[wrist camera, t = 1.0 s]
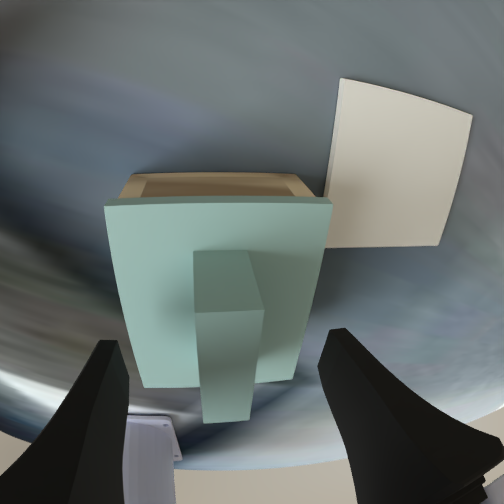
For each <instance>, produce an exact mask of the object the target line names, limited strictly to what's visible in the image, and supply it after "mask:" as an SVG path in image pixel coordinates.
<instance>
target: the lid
mask: <svg viewBox="0 0 504 504" xmlns="http://www.w3.org/2000/svg"><path fill="white" fill-rule="evenodd" d="M332 210H333V203H332V202H331V201H330V200H329V199H328V198H327V197H298V196H171V197H141V198H118V199H108V200H107V202H106V204H105V205H104V211H105V218H106V225H107V232H108V238H109V244H110V250H111V256H112V261H113V267H114V272H115V277H116V282H117V287H118V291H119V296H120V300H121V305H122V309H123V313H124V318H125V322H126V326H127V330H128V334H129V337H130V341H131V345H132V348H133V352H134V356H135V359H136V363H137V366H138V369H139V373H140V376H141V379H142V382H143V385H144V388H181V387H200V393H201V403H202V413H203V423H219V422H233V421H244V420H249V418H250V411H251V404H252V397H253V390H254V383H262V382H272V381H281V380H289V379H292V378H293V375H294V371H295V368H296V364H297V360H298V357H299V353H300V349H301V346H302V342H303V338H304V334H305V330H306V326H307V322H308V318H309V314H310V310H311V306H312V302H313V298H314V294H315V290H316V285H317V281H318V277H319V272H320V268H321V263H322V259H323V254H324V249H325V245H326V240H327V235H328V230H329V225H330V220H331V215H332Z"/></svg>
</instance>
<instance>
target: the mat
mask: <svg viewBox="0 0 504 504" xmlns="http://www.w3.org/2000/svg"><path fill="white" fill-rule="evenodd" d="M472 116H473V115H470V114H467V113H465V112H462V111H460V110H457V109H454V108H451V107H448V106H446V105H443V104H440V103H437V102H434V101H430V100H427V99H424V98H421V97H418V96H414V95H411V94H407V93H404V92H400V91H396V90H393V89H389V88H385V87H381V86H376V85H372V84H368V83H363V82H359V81H354V80H349V79H343V78H340V83H339V91H338V100H337V108H336V115H335V123H334V130H333V137H332V144H331V151H330V158H329V164H328V171H327V177H326V183H325V189H324V195H323V197H327V198H328V199H329V200H330V201H331V202H332V203H333V210H332V215H331V220H330V225H329V230H328V235H327V240H326V245H325V248H348V247H395V246H438V244H439V241H440V238H441V235H442V233H443V230H444V227H445V224H446V221H447V217H448V214H449V211H450V208H451V205H452V201H453V198H454V194H455V191H456V187H457V184H458V180H459V176H460V172H461V168H462V164H463V160H464V156H465V151H466V147H467V142H468V137H469V132H470V127H471V122H472Z"/></svg>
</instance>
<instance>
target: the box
mask: <svg viewBox="0 0 504 504" xmlns="http://www.w3.org/2000/svg"><path fill="white" fill-rule="evenodd" d="M171 196H298V197H316V196H315V195H314V194H313V193H312V192H311V191H310V190H309V189H308V187H307V186H306V185H305V184H304V183H303V182H302V181H301V180H300V179H299V178H298V176H297V175H296V174H283V173H247V172H188V173H151V174H132V175H131V176H130V178H129V180H128V181H127V183H126V185H125V187H124V188H123V190H122V192H121V194H120V196H119V197H118V198H141V197H171Z"/></svg>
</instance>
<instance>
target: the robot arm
mask: <svg viewBox="0 0 504 504" xmlns="http://www.w3.org/2000/svg"><path fill="white" fill-rule="evenodd" d="M318 371H319V375H320V379H321V383H322V387H323V391H324V393H325V396H326V398H327V401H328V404H329V406H330V409H331V411H332V414H333V416H334V419H335V421H336V424H337V426H338V429H339V431H340V434H341V436H342V439H343V442H344V445H345V448H346V451H347V455H348V459H349V463H350V467H351V472H352V476H353V481H354V486H355V491H356V497H357V503H358V504H504V474H503V475H502V476H500V477H499V478H497V479H496V480H494V481H493V482H492V483H490V484H489V485H487V486H486V487H484V488H483V486H482V484H483V483H484V482H485V481H486V480H485V478H484V476H483V475H484V474H485V473H487V472H488V471H490V470H491V469H492V468H494V467H495V466H496V465H498V464H499V463H500V462H502V461H503V460H504V446H503V444H502V443H501V441H500V439H499V438H498V437H495V436H493V435H489V434H487V433H484V432H482V431H479V430H477V429H474V428H472V427H470V426H468V425H466V424H464V423H462V422H460V421H458V420H456V419H454V418H452V417H450V416H449V415H447V414H445V413H444V412H442V411H440V410H439V409H437V408H436V407H434V406H433V405H431V404H430V403H428V402H427V401H425V400H424V399H423V398H421V397H420V396H418V395H417V394H416V393H414V392H413V391H412V390H411V389H409V388H408V387H407V386H406V385H405V384H403V383H402V382H401V381H400V380H399V379H398V378H396V377H395V376H394V375H393V374H392V373H391V372H390V371H389V370H388V369H387V368H385V367H384V366H383V365H382V364H381V363H380V362H379V361H378V360H377V359H376V358H375V357H374V356H373V355H372V354H371V353H370V352H369V351H368V350H367V349H366V348H365V347H364V346H363V345H362V344H361V343H360V342H359V341H358V340H357V339H356V338H355V337H354V336H353V335H352V334H351V333H350V332H349V331H348V330H347V329H346V328H340V329H331V330H329V333H328V337H327V340H326V343H325V345H324V348H323V351H322V354H321V357H320V360H319V363H318ZM128 406H129V375H128V372H127V369H126V366H125V363H124V360H123V357H122V354H121V351H120V348H119V344H118V341H117V340H100V341H99V342H98V343H97V345H96V347H95V348H94V350H93V352H92V354H91V356H90V357H89V359H88V361H87V363H86V364H85V366H84V368H83V370H82V371H81V373H80V375H79V376H78V378H77V380H76V381H75V383H74V385H73V386H72V388H71V389H70V391H69V393H68V394H67V396H66V397H65V399H64V400H63V402H62V403H61V405H60V406H59V408H58V409H57V411H56V412H55V414H54V415H53V417H52V418H51V420H50V421H49V422H48V424H47V425H46V426H45V428H44V429H43V430H42V431H41V433H40V434H39V435H38V437H37V438H36V439H35V440H34V441H33V442H32V444H31V445H30V446H29V447H28V448H27V450H26V451H25V452H24V453H23V454H22V455H21V456H20V457H19V458H18V459H17V460H16V461H15V462H14V463H13V464H12V465H11V466H10V467H9V468H8V469H7V470H6V471H5V472H4V473H3V474H2V475H1V476H0V504H176V498H175V484H174V468H173V461H181V460H182V454H181V451H180V447H179V444H178V441H177V438H176V434H175V431H174V427H173V424H172V420H171V418H170V417H168V416H133V415H127V414H128Z"/></svg>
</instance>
